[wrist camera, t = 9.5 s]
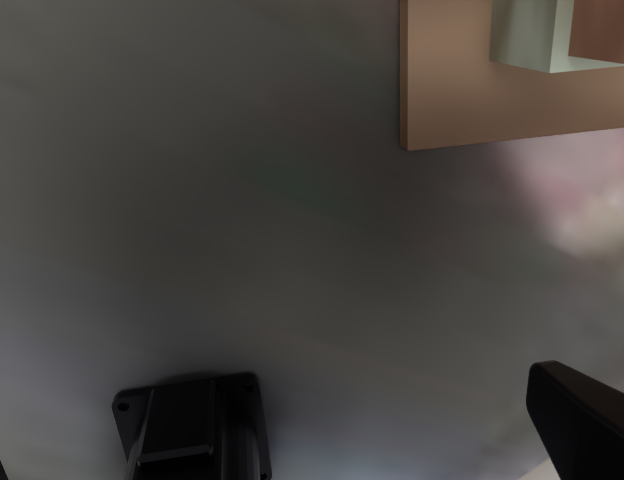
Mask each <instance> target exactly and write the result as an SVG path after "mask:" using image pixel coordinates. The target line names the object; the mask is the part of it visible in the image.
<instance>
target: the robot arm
mask: <svg viewBox="0 0 624 480" xmlns="http://www.w3.org/2000/svg"><path fill="white" fill-rule="evenodd" d="M245 384H252V386H250V387H245V386H244V385H245ZM122 402H126V403H128V405H122V404H121V403H122ZM526 406H527V410H528V413H529V416H530V418H531V420H532V422H533V424H534V426H535V428H536V430H537V432H538V434H539V436H540V438H541V440H542V442H543V444H544V447H545V449H546V451H547V453H548V455H549V457H550V459H551V461H552V463H553V465H554V467H555V469H556V471H557V473H558V475H559V478H560V479H561V480H624V393H623V392H621V391H618V390H616V389H614V388H612V387H610V386H608V385H606V384H604V383H602V382H600V381H598V380H596V379H594V378H592V377H589V376H587V375H585V374H583V373H581V372H579V371H577V370H575V369H573V368H571V367H569V366H567V365H565V364H562V363H560V362H558V361H555V360H551V361H544V362H537V363H534V364H532V365H531V367H530V370H529V377H528V386H527V394H526ZM112 410H113V414H114V417H115V421H116V424H117V428H118V431H119V434H120V438H121V441H122V445H123V448H124V451H125V455H126V458H127V462H128V464H127V469H126V473H125V477H124V480H271V478H272V469H271V462H270V455H269V448H268V441H267V434H266V427H265V420H264V413H263V406H262V399H261V392H260V385H259V380H258V378H257V377H256V376H255V375H253V374H242V375H235V376H228V377H221V378H214V379H206V380H199V381H193V382H186V383H179V384H172V385H165V386H158V387H153V388H146V389H139V390H132V391H125V392H121V393H118V394H117V395H116V396H115V397H114V400H113V403H112ZM260 473H263V474H260ZM0 480H8V478H7V475H6V473H5V471H4V468H3V466H2V464H1V461H0Z"/></svg>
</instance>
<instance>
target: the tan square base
mask: <svg viewBox="0 0 624 480" xmlns="http://www.w3.org/2000/svg"><path fill="white" fill-rule="evenodd" d="M573 7H574V0H399V18H400V145H401V146H402V147H403V148H405V149H406V150H407V151H412V150H422V149H431V148H440V147H449V146H458V145H467V144H477V143H486V142H495V141H504V140H513V139H522V138H532V137H541V136H550V135H559V134H568V133H577V132H587V131H596V130H605V129H614V128H623V127H624V64H620V63H613V62H606V61H599V60H592V59H586V58H579V57H572V56H568V51H569V42H570V34H571V25H572V16H573Z"/></svg>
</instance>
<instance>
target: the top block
mask: <svg viewBox="0 0 624 480" xmlns="http://www.w3.org/2000/svg"><path fill="white" fill-rule="evenodd" d="M568 56H572V57H579V58H586V59H592V60H599V61H606V62H613V63H620V64H624V0H574V7H573V16H572V25H571V34H570V42H569V51H568Z"/></svg>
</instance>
